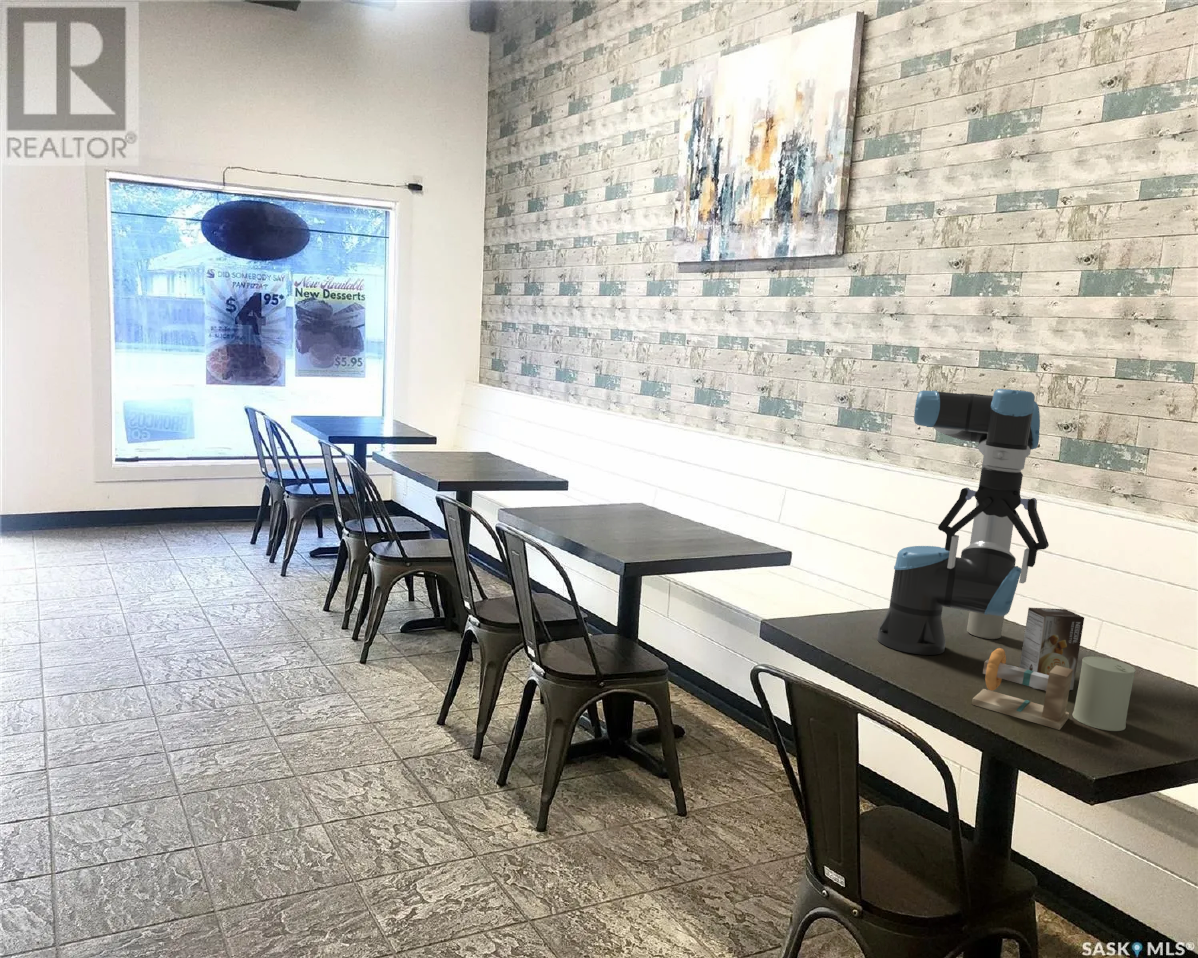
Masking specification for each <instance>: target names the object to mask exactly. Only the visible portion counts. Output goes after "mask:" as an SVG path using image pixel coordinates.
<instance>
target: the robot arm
mask: <svg viewBox="0 0 1198 958" xmlns="http://www.w3.org/2000/svg"><path fill="white" fill-rule="evenodd" d="M1035 398H1036V397H1035V394H1034V392H1032V391H1027V390H1019V389H1018V390H1017V389H1016V390H1015V389H1009V388H1008V389H1007V388H997V389H996V390H994V392H993V395H990V394H978V393H973V392H971V393H956V392H946V391H937V390H932V389H931V390H924V389H923V390H920V391H919V392H918V393H917V396H916V399H915V404H914V405H915V407H914V414H913V415H914V416H913V422H914V424H915V425H917V426H922V427H926V428H933V429H934V430H935V431H936V432H939V433H940V434H942V435H946V436H947V437H950V438H955V439H957V440H959V441H960V440H962V441H965V442H973V443H978V444H977V445H978V446H977V448H978V451H979V452H980V453H981V454H982V455H983V457H982V458H983V459H982V463H981V469H980V477H979V484H978V489H977V490H973V489H970V488H969V487H963V488H962V489H961V490H960V492H959V497H958V499H957V500H956V502H955V503H954V504H953V506H952V507H951V508H950V510H949V511H948V512H947V514H946V515H945V517H944V518H943V520H941V522H940V523H939V525H938V526H937V529H938V530H939V531H941V532H943V533H945V534H946V539H945V545H944V547H941V546H935V545H934V546H933V545H932V546H931V545H913V546H908V547H903V548H902V549H900V550H899V551H898V552H897V556H896V561H895V565H893V570H894V573H893V574H894V575H893V581H892V585H891V593H890V601H889V606H888V609H887V611H886V613H885V616H884V618H883V619H882V621H881V623H880V625H879V627H878V630H877V634H876V635H877V637H876V640H877V641H878V642H879V643H881V645H884V646H886V647H888V648H890V649H892V650H896V651H899V652H903V653H909V654H913V655H920V656H921V655H923V656H935V655H941V654H943V653H944V652H945V651H946V650H945V648H946V636H945V635H946V634H945V632H944V625H943V619H942V616H943V615H942V614H943V608H944V607H945V608H951V609H957V610H961V611H966V612H970V611H972V612H977V613H983V614H984V615H996V616H1004V617H1005V616H1006V615H1008V614H1009V613H1010V610H1011V607H1012V604H1013V601H1014V597H1015V594H1016V592H1017V591H1016V590H1017V587H1018V585H1019V584H1025V583H1026V582H1027V577H1028V572H1029V567H1030V568H1033V567H1035V565H1036V560H1037V555H1038V551H1041V550H1046V549H1047V548H1048V547H1049V542H1048V539H1047V536H1046V532H1045V530H1044V527H1043V525H1042V521H1041V519H1040V516H1039V513H1038V510H1037V504H1038V499H1036V498H1035V497H1032V498H1022V497H1021V488H1022V482H1023V476H1024V474H1023V472H1022V471H1023V470H1024V469H1025V464H1026V458H1028V457H1029V456H1030V454H1031V453H1032V452H1031V451H1032V450H1036V449H1037V448H1038V446H1039V442H1040V427H1041V420H1040V419H1041V413H1040V407H1039V405H1038V403H1037V402H1036V401H1035ZM973 497H974V498H975V500H976V503H975V507H974V508H973V509H972V510H971V511H970V512H968V513H967V514H966V515H965V516H964V517H962V518H961V519H959V520H958V521H957V522H956V523H955V524H954V525H952V526H950V525H951V524H952V521H953V520H954V519H955V518H956V517H957V515H958V513H960V511H961V510H962V508H963V507H964V506H965V504H966V503H967V502H968V501H969V500H972V498H973ZM1021 505H1022V506H1023V508H1024V510H1025V511H1027V514H1028V517H1029V521H1030V522H1031V526H1032V529H1033V531H1034V532H1033V533H1034V534H1035V537H1036V540H1037V542H1036V540H1035V538H1034V537H1033V535H1032V534H1031V533H1030V531H1029V529H1028V528H1027V526H1026V525H1025V523H1024V522H1023V519H1021V517H1020V515H1019V514H1018V512H1017V510H1016V509H1018V508H1019V507H1020V506H1021ZM971 521H973V522H972V528H971V535H970V539H969V540H970V541H969V542H970V543H969V545H968V546H966V547H965V548H963V549H962V550H961V553H960V557H958V556H957V552H958V545H959V540H960V539H959V538H960V535H959V534H958V535H957V534H956V533H958V532H959V531H960V530H961V529H963V528H964V527H965V526H966V525H968V523H970V522H971ZM1014 528H1015V530H1016V531H1017V532H1018V534H1019V535H1020V537H1021V538H1022V540H1023V541H1024V543H1025V544H1026V548H1025V549H1024V551H1023V557H1022V563H1021V567H1019V566H1018V565H1016V562H1017V559H1016V557H1015V556H1014V555H1013V553H1012V552H1011V551H1010V550H1011V546H1012V545H1011V544H1012V537H1013V536H1012V535H1013V531H1014V530H1013V529H1014Z"/></svg>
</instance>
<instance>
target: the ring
mask: <svg viewBox="0 0 1198 958" xmlns="http://www.w3.org/2000/svg"><path fill="white" fill-rule="evenodd" d="M988 659H989V661H988V664H987V670H986V674H985V677H984V679H985V680H984V681H985V686H986V688H987V690H990V691H995V690H997V689H998V688H999V687H1000V685H1001V684H1002V682H1003V681H1002V680H1003V679H1001V678H997V672H998V667H999V664H1000V663H1004V664H1006V663H1007V656H1006V651H1005V650H1004V648H1002V647H1001V648H1000V647H997V648H996V649H995V650H993V651H991V654H990V655H989V658H988Z"/></svg>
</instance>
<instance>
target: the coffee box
mask: <svg viewBox="0 0 1198 958" xmlns="http://www.w3.org/2000/svg"><path fill="white" fill-rule="evenodd" d="M1027 609H1028V610H1027V617H1026V623H1025V631H1024V637H1023V642H1022V643H1023V644H1022V648H1021V657H1020V663H1019V668H1023V669H1027V670H1031V671H1034V672H1038V673H1042V674H1046V675H1049V672H1050V671H1051V670H1052V669H1053V668H1054V667H1055V666H1056V665H1057V666H1061V667H1065V668H1069V669H1073V673H1072V679H1071V684H1070V690H1069V691H1073V690H1074V684H1075V679H1076V672H1077V667H1078V666H1077V665H1078V659H1079V653H1080V647H1081V641H1082V635H1083V629H1084V624H1085V623H1084V622H1085V617H1084V616H1082V615H1080V614H1077V613H1075V612H1073V611H1071V610H1068V609H1066V608H1065V609H1064V608H1050V607H1049V608H1045V607H1028V608H1027ZM1031 689H1034V690H1039V689H1038V688H1034V687H1031Z"/></svg>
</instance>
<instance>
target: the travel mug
mask: <svg viewBox="0 0 1198 958" xmlns="http://www.w3.org/2000/svg"><path fill="white" fill-rule="evenodd" d="M1004 620H1005V616H996V615H984V614H983V613H977V612H972V611H969V614H968V620H967V626H966V632H967V633H969V634H970V635H972V636H975V637H977V638H980V639H981V638H982V639H986V640H987V639H988V640H998V639H1000V638H1002V631H1003V626H1004Z"/></svg>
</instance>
